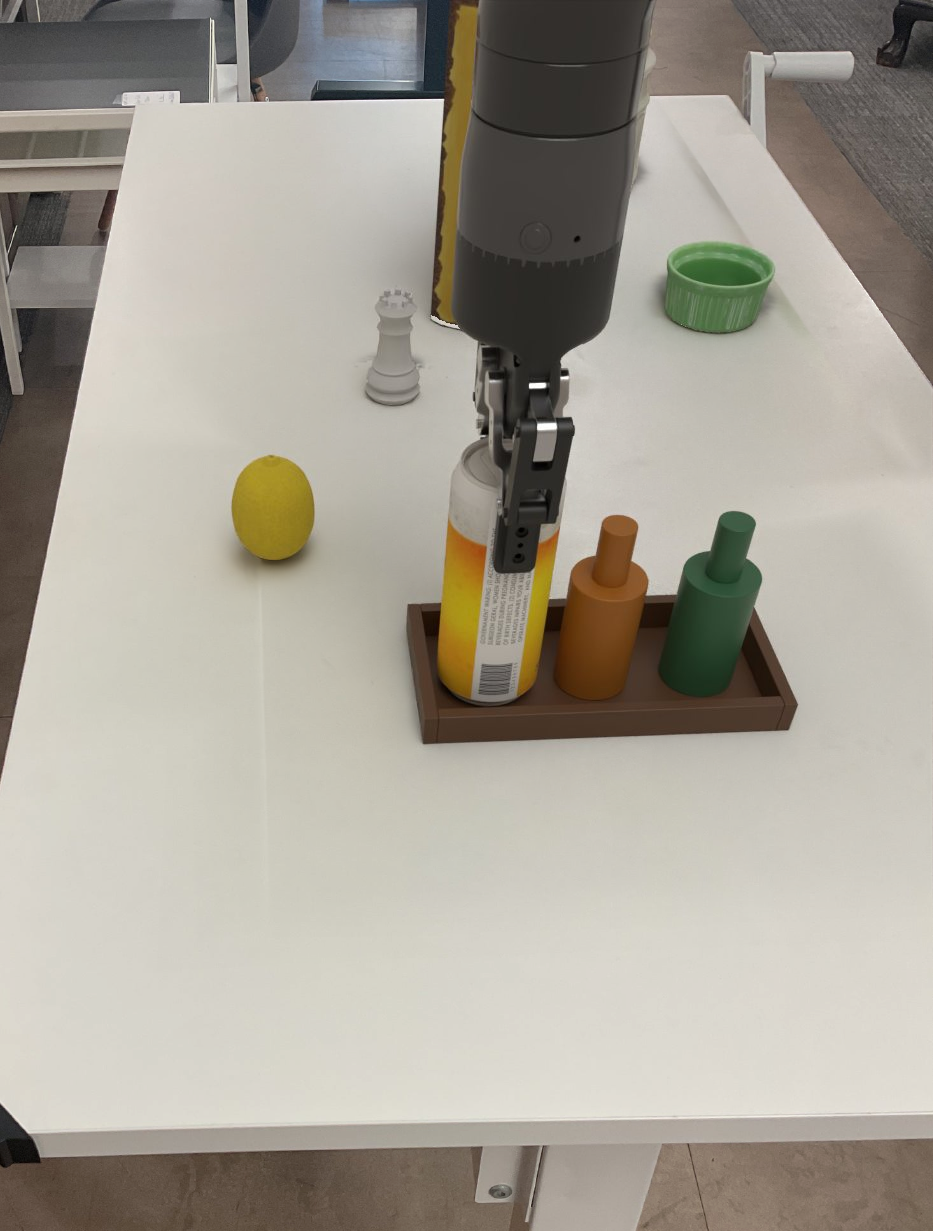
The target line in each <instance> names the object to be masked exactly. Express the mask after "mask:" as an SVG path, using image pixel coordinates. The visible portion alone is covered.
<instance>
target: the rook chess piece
mask: <svg viewBox="0 0 933 1231" xmlns="http://www.w3.org/2000/svg"><path fill="white" fill-rule="evenodd" d="M413 297H414V295H413V294H412V292H411V291H409V290H408V289H406V290H404V294H402V288H400V287H399V288H398V287H395V288H394V293H392V294H391V289H390V288H387V289H384V290H383V292H380V293H379V299H378V301H377V302H376V303H375V305H374V308H373V309H374V310H375V312H376V314H377V315H378V316H379V322H378V323H377V325H376V328H377V330H378V344H377V350H376V355H375V358H374V359H373V360H372V362H371V366H369V367H368V369H367V373H366V377H365V379H366V381H367V382H366V383H365V386H364V389H365V391H366V393H367V394H368V396H369V397H370V399H372V400H373V401H374V402H376V403H379V404H382V405H385V406H386V405H388V406H397V405H404V404H407V403H409V402H411V401H412V400H414V398H415V397H416V396H417V395H418V394H420V390H421V386H420V384H419V382H420V378H421V375H420V371H419V369H418V368H417V367H416V362H415V361H414V358H413V356H412V346H411V332H412V331H413V329H414V326H413V324H412V321H411V319H412V317H413V316H414V315H415V314H416V313H417V310H418V306H417V305H416V303H415V302H414V300H413Z"/></svg>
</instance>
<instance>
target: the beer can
mask: <svg viewBox="0 0 933 1231" xmlns="http://www.w3.org/2000/svg"><path fill="white" fill-rule="evenodd" d="M503 445H504V448H505V449H506V450H513V440H512V439H503ZM567 486H568V483H567V478H566V477H565V480H564V485H563V490H562V495H561V500H560V505H559V515H558V516H557V520H556V523H555V524H541V530H540V537H539V544H538V551H537V558H536V565H535V568H534V569H533V570H532V571H530V572H528V573H510V574H500V573H497V572H496V571H495V570H494V566H493V562H492V555H493V546H494V537H495V528H496V519H497V510H498V509H496V499H498V469H497V468H496V467H495V466H493V465H492V464H491V463H490V461H489V437H487V438H483V439H480V438H479V439H478V440H475V441H474V442H472V443H470V444H469V445H467V447H465V448H464V450H463V451H462V453H461V455H460V459H459V461H458V462H457V464H456V465H455V467H454V469H453V470H452V472H451V478H450V489H449V500H448V501H449V502H448V514H447V527H446V538H445V539H446V540H445V551H444V553H445V554H444V566H443V577H442V590H441V602H440V603H441V615H440V628H439V641H438V654H437V673H438V676H439V678H440V679H441V681H442V682H443V684H444V685H445V686H446V687H448V689H449V690H450V691H451V692H452V693H453V694H454V695H455V696H456V697H458V698H459V699H461V700H463V701H465V702H468V703H471V704H475V705H480V706H498V705H503V704H506V703H509V702H511V701H513V700H515V699H517V698H518V697H519V696H520V695H522V694H523V693H525V692H526V691H527V690H529V689H530V688H531V687H532V685H533V684H534V682H535V680H536V677H537V672H538V665H539V659H540V653H541V646H542V640H543V634H544V627H545V621H546V614H547V608H548V602H549V599H550V596H551V589H552V588H551V587H552V582H553V576H554V570H555V563H556V557H557V552H558V543H559V538H560V530H561V524H562V518H563V511H564V505H565V500H566V499H565V498H566V493H567Z"/></svg>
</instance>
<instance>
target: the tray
mask: <svg viewBox="0 0 933 1231" xmlns="http://www.w3.org/2000/svg"><path fill="white" fill-rule="evenodd" d="M676 595H677V593H676V594H652V595H651V594H649V595H647V594H646V597H645V602H644V606H643V610H642V615H641V619H640V623H639V628H638V632H637V636H636V641H635V645H634V649H633V654H632V658H631V662H630V667H629V671H628V675H627V680H626V684H625V686H624V688H623V689H622V691H621V692H620V693H618V694H617V695H615V696H614V697H611V698H609V699H605V700H597V701H592V700H584V699H580V698H576V697H574V696H571V695H569V694H568V693H566V692H565V691H563V690H562V689H561V688H560V687H559V686H558V685H557V683H556V681H555V678H554V666H555V660H556V655H557V649H558V643H559V637H560V632H561V626H562V620H563V614H564V608H565V603H566V598H562V597H561V598H549V602H548V608H547V614H546V621H545V627H544V634H543V640H542V646H541V653H540V659H539V665H538V672H537V677H536V680H535V682H534V684H533V685H532V687H531V688H530V689H529V690H527V691H526V692H525V693H523V694H522V695H520V696H519V697H518V698H517V699H515V700H513V701H511V702H509V703H506V704H503V705H498V706H480V705H475V704H471V703H468V702H465V701H463V700H461V699H459V698H458V697H456V696H455V695H454V694H453V693H452V692H451V691H450V690H449V689H448V687H446V686H445V685H444V684H443V682H442V681H441V679H440V678H439V676H438V673H437V654H438V641H439V628H440V615H441V602H426V603H425V602H424V603H422V602H421V603H407V606H406V622H405V623H406V624H405V630H406V638H407V644H408V645H407V646H408V651H409V658H410V665H411V670H412V671H411V672H412V678H413V685H414V693H415V698H416V707H417V712H418V719H419V726H420V733H421V739H422V744H423V745H442V744H443V745H444V744H466V743H467V744H468V743H493V742H497V743H498V742H521V741H548V740H572V739H573V740H575V739H601V738H623V737H624V738H627V737H628V738H629V737H651V736H653V737H655V736H675V735H676V736H679V735H680V736H681V735H703V734H727V733H730V734H731V733H732V734H733V733H754V732H755V733H756V732H757V733H758V732H781V731H782V732H783V731H789V730H790V728H791V725H792V723H793V720H794V718H795V715H796V712H797V709H798V706H799V703H798V701H797V698H796V696H795V694H794V692H793V690H792V688H791V685H790V683H789V681H788V679H787V676H786V674H785V672H784V669H783V667H782V665H781V663H780V661H779V659H778V656H777V654H776V652H775V650H774V647H773V645H772V643H771V640H770V639H769V636H768V633H767V632H766V630H765V627H764V625H763V623H762V621H761V619H760V616H759V614H758V612H757V610H756V607H755V606H754V609H753V612H752V615H751V619H750V622H749V625H748V628H747V631H746V635H745V638H744V641H743V644H742V647H741V650H740V654H739V657H738V660H737V663H736V666H735V670H734V673H733V676H732V679H731V682H730V684H729V686H728V687H727V688H726V689H725V690H724V691H723V692H721V693H719V694H716V695H713V696H708V697H696V696H689V695H685V694H682V693H680V692H677V691H675V690H674V689H672V688H670V687H669V686H668V685H667V684H665V683H664V681H663V680H662V679H661V677H660V675H659V671H658V666H659V662H660V658H661V654H662V650H663V646H664V642H665V638H666V634H667V630H668V626H669V622H670V618H671V614H672V610H673V607H674V603H675V599H676Z"/></svg>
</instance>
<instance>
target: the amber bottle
mask: <svg viewBox="0 0 933 1231" xmlns="http://www.w3.org/2000/svg"><path fill="white" fill-rule="evenodd" d="M639 529H640V528H639V523H638V522H637V521H636V520H635V519H634V518H632V517H630V516H627V515H623V514H611V515H609V516H606V517H605V518H603V520H602V521H601V525H600V531H599V535H598V541H597V547H596V550H595V555H590V556H587V557H584V558H582V559H580V560H579V561H577V562H576V563H575V564H574V565H573V567H571V568H572V569H571V571H570V574H569V581H568V586H567V592H566V603H565V608H564V614H563V620H562V626H561V632H560V637H559V643H558V649H557V655H556V660H555V666H554V678H555V681H556V683H557V685H558V686H559V687H560V688H561V689H562V690H563V691H565V692H566V693H568V694H569V695H571V696H574V697H576V698H580V699H584V700H592V701H597V700H605V699H609V698H611V697H614V696H615V695H617V694H618V693H620V692H621V691H622V689H623V688H624V686H625V684H626V680H627V675H628V671H629V667H630V662H631V658H632V654H633V649H634V645H635V641H636V636H637V632H638V628H639V623H640V619H641V615H642V610H643V606H644V602H645V597H646V595H647V594H648V588H649V583H650V582H649V580H650V579H649V577H648V574H647V573H646V571H645V570H644V569H643V568H642V566H641V565H639V564H638V563H636V562H634V561H633V556H634V552H635V551H634V550H635V546H636V541H637V537H638V532H639Z"/></svg>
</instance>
